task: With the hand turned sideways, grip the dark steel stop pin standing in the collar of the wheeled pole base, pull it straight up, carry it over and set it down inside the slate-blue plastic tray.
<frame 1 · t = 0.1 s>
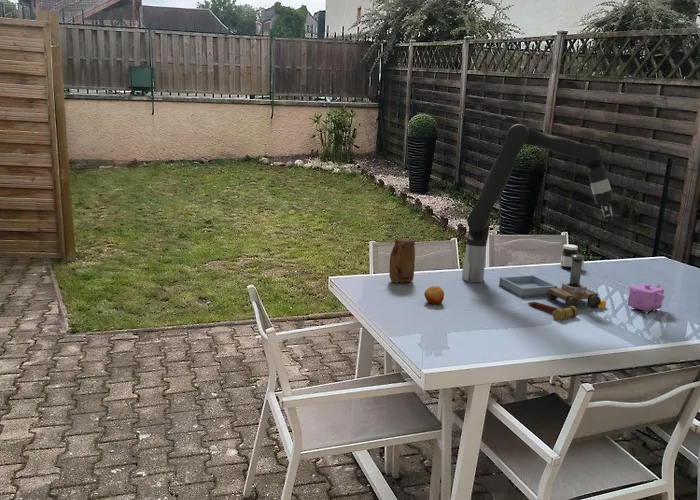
hand: (611, 227, 271), 31 cm above the table, tool tilted 20°, fingers open, 8 cm apart
stop pin: (573, 291, 267), point 5 cm above the table, touching wheeled pole base
spread jar: (572, 268, 325), on the table
gavel: (547, 313, 256), on the table
teapot: (643, 310, 263), on the table
fruit: (433, 303, 262), on the table
wheeled pole base: (572, 303, 268), on the table
block: (400, 282, 291), on the table
wheel chock: (600, 306, 265), on the table
tray: (527, 290, 285), on the table
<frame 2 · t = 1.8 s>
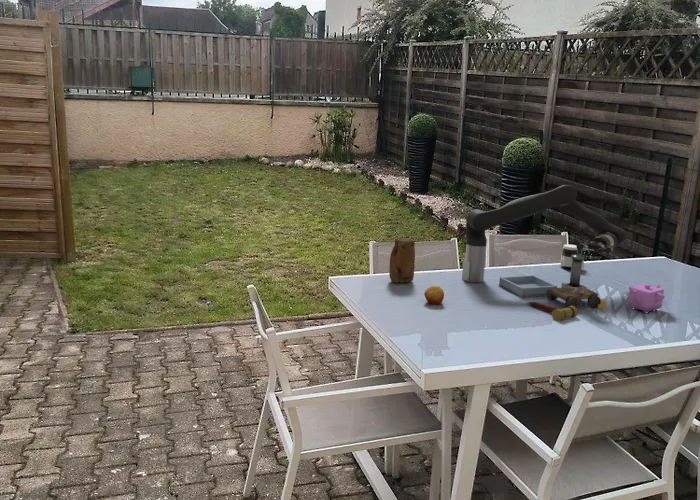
hand: (588, 249, 271), 22 cm above the table, tool horizontal, fingers open, 8 cm apart
nothing on the table moved.
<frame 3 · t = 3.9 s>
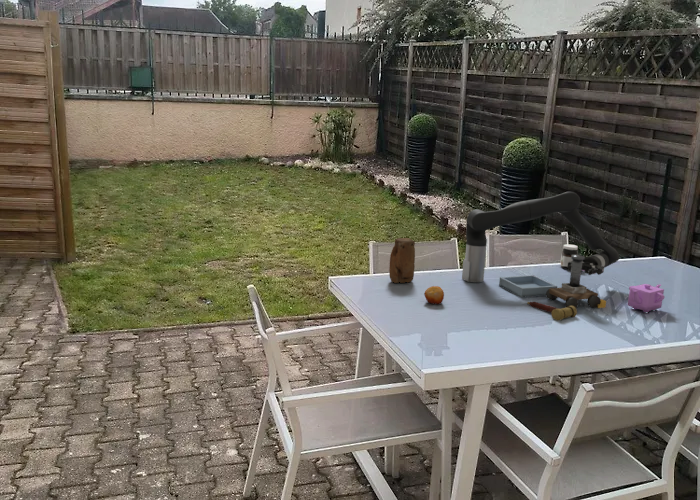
hand: (579, 270, 267), 14 cm above the table, tool horizontal, fingers open, 8 cm apart
nothing on the table moved.
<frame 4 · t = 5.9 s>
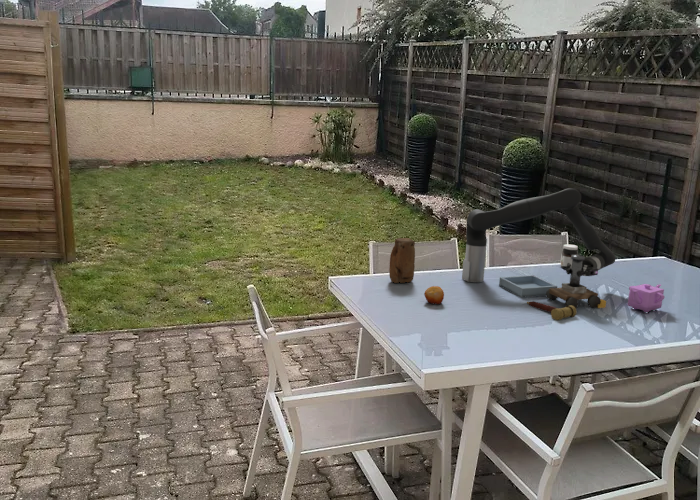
hand: (573, 273, 263), 14 cm above the table, tool horizontal, fingers closed on stop pin, 4 cm apart
stop pin: (573, 291, 267), point 6 cm above the table, touching gripper, wheeled pole base
everything else where it was.
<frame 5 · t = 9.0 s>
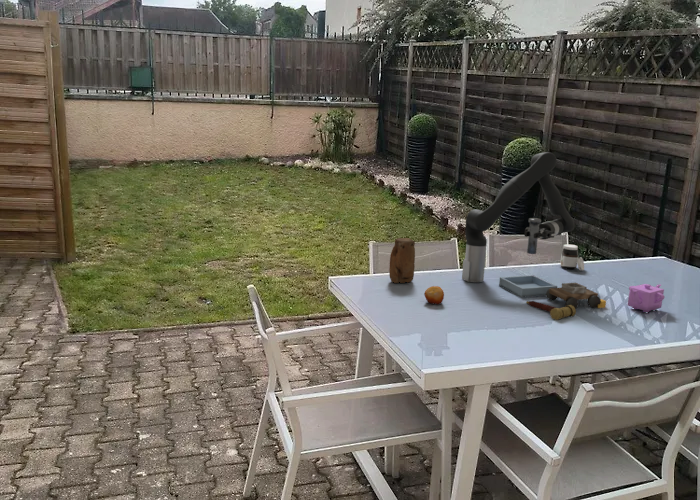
hand: (530, 235, 276), 26 cm above the table, tool horizontal, fingers closed on stop pin, 4 cm apart
stop pin: (531, 252, 280), point 17 cm above the table, touching gripper
when the fingers open (10 cm above the table, at t = 12.4 s): stop pin stays where it is, resting on tray.
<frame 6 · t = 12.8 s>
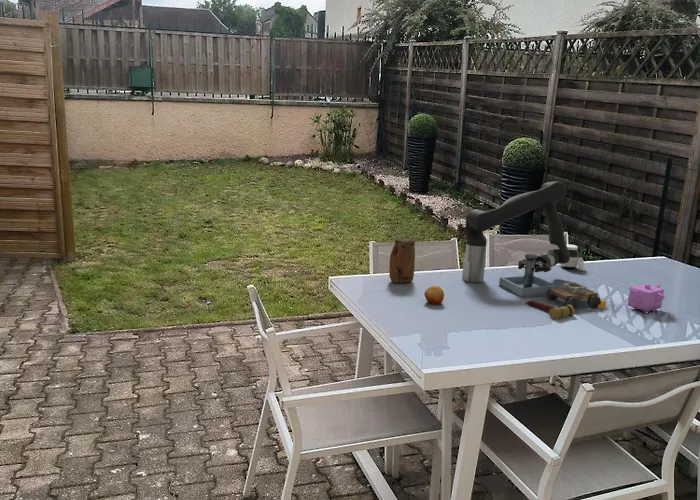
hand: (527, 268, 281), 11 cm above the table, tool horizontal, fingers open, 7 cm apart
stop pin: (527, 287, 284), point 1 cm above the table, touching tray
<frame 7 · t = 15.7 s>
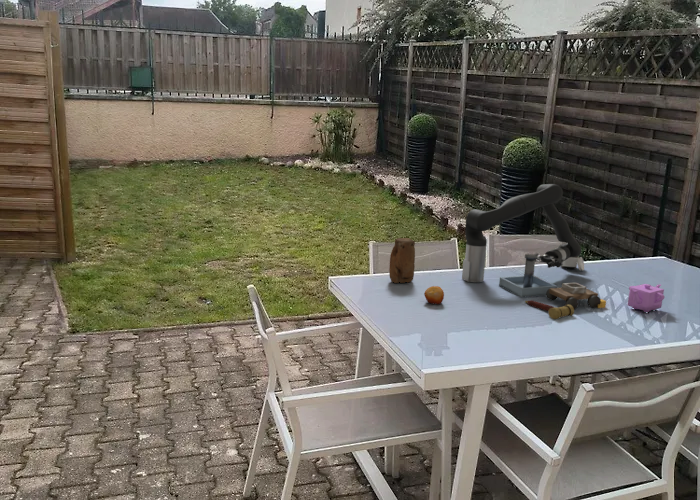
hand: (539, 263, 290), 11 cm above the table, tool horizontal, fingers open, 8 cm apart
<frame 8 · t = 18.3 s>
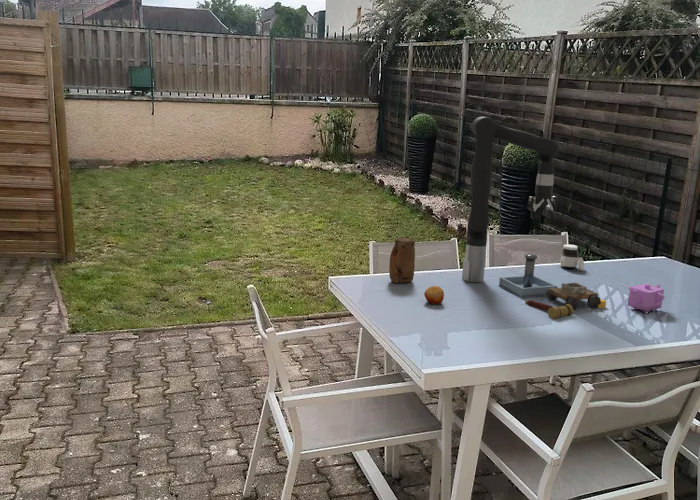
hand: (540, 218, 292), 30 cm above the table, tool pointing down, fingers open, 8 cm apart
at the end: stop pin inside the target area on the tray (0.1 cm from its centre), point 1.0 cm above the tray's base; the gripper is holding nothing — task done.
